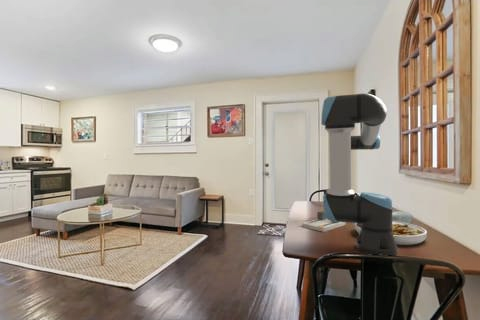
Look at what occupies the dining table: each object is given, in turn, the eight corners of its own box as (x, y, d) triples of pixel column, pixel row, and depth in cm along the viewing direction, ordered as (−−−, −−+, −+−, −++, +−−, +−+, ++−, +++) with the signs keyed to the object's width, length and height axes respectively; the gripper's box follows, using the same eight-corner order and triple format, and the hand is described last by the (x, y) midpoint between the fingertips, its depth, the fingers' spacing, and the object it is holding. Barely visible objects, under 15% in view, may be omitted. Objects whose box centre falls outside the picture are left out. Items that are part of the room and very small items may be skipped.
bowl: (412, 230, 135) (412, 215, 135) (439, 250, 106) (439, 231, 106) (351, 227, 143) (350, 213, 143) (361, 244, 114) (360, 227, 114)
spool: (406, 217, 149) (406, 204, 145) (417, 228, 141) (417, 215, 136) (382, 222, 151) (382, 209, 146) (391, 234, 142) (391, 220, 138)
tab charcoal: (322, 219, 150) (322, 213, 150) (317, 218, 152) (317, 212, 152) (326, 218, 152) (326, 212, 152) (321, 217, 155) (321, 211, 155)
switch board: (323, 231, 133) (323, 227, 133) (301, 226, 144) (301, 222, 144) (345, 224, 147) (345, 221, 147) (324, 220, 158) (324, 216, 158)
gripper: (342, 160, 157) (342, 198, 158) (330, 160, 149) (330, 201, 149) (354, 160, 151) (354, 199, 152) (342, 160, 143) (343, 202, 144)
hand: (342, 200), depth 151 cm, fingers closed
